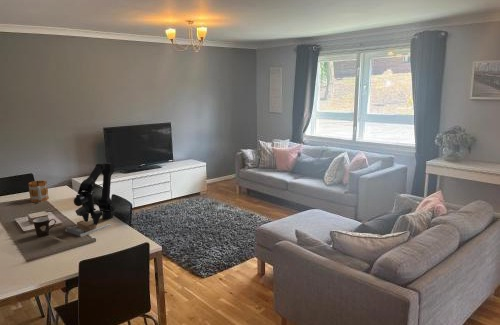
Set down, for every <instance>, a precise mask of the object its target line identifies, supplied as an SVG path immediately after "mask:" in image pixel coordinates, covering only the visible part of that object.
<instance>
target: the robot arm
mask: <svg viewBox="0 0 500 325" xmlns="http://www.w3.org/2000/svg"><path fill="white" fill-rule="evenodd" d="M114 172H115V165H114V163H113V162H103V163H96V164H95V167H94V168H93V170H92V171H91V173H90V174H89V176H88V177H87V178H85V179H84V180H82V182H81V183H80V185H79V188H78V192H77V194H76V195H75V197H74V198H73V203H74V206H75V207H78V208H77V209H76V210H74V211H75V214H76V215H77V216H78V217H82V219H83V221H85V222H89V217H90V218H91V219H92V220H93V222H94V223H93V224H96V227H97V225H98V223H99V220H100V218H101V217H102V218H101V219H102V221H103V220H104V221H105V220H111V219H114V212H115V210H116V207H115V205H114V204H113V201H112V198H111V197H110V195H111V182H112V175H113V174H114ZM101 174H102V177H103V178H102V190H101V198H100V199H98V200H97V201H98V205H97V207H98V210H96V209H97V208H95V204H96V201H94V194H95V191H94V189H95V186H96V181H97V180H98V179H99V177H100V175H101Z"/></svg>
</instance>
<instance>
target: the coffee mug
mask: <svg viewBox="0 0 500 325" xmlns="http://www.w3.org/2000/svg"><path fill="white" fill-rule="evenodd" d="M51 221H54V223H53V225H51V226H50V222H51ZM32 223H33V225H34V226H33V227H34V230H35V233H36V236H37V237H38V238H43V237H47V236H49V233H50V232H49V231H50V230H51V229H52V228H53V227H54V226H55V224H56V223H57V221H56V219H53V218H52V219H50V218H49V217H48V216H47V217H44V216H43V217H37V218H35V219H33V220H32Z"/></svg>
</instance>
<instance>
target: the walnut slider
mask: <svg viewBox="0 0 500 325" xmlns="http://www.w3.org/2000/svg"><path fill="white" fill-rule="evenodd" d="M76 226H77V228H78V229H81V230H84V232H88V231H91V230H94V229H96V228H97V226H96V224H94V223H89V221H88V222H85V221H84V220H80V221H76Z"/></svg>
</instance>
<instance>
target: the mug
mask: <svg viewBox="0 0 500 325" xmlns="http://www.w3.org/2000/svg"><path fill="white" fill-rule="evenodd" d="M47 182H48V181H47V180H44V179H43V180H42V179H41V180H35V181H33V180H32V181H30V182H28V184H27V186H28V192H29V198H30V200H29V202H31V203H42V202H45V201H46V202H47V201H48V200H49V198H50V197H49V190H48V183H47ZM41 201H42V202H41Z"/></svg>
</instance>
